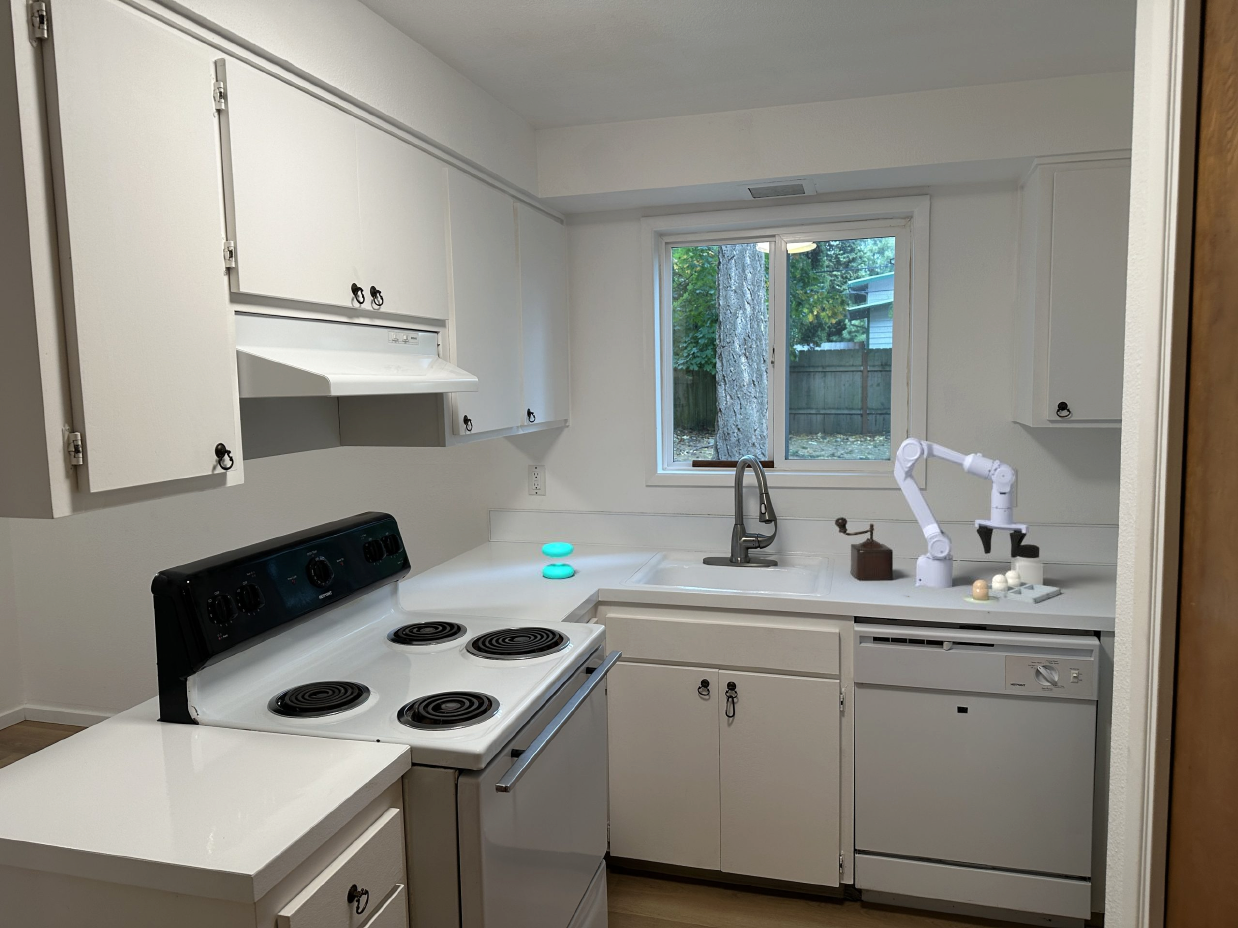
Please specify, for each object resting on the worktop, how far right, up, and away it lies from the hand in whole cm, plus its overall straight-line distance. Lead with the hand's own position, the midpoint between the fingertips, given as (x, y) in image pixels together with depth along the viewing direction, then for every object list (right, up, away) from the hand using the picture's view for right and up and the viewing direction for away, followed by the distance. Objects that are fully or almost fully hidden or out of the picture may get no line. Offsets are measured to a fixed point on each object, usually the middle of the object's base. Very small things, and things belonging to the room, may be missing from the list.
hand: (1000, 555), depth 244 cm
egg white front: (-2, -10, -4) cm, 11 cm away
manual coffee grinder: (-33, -9, +22) cm, 40 cm away
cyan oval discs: (-126, -10, +30) cm, 130 cm away
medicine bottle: (+11, -10, +7) cm, 16 cm away
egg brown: (-10, -11, -10) cm, 17 cm away
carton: (+3, -11, -4) cm, 12 cm away
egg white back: (+4, -10, +1) cm, 10 cm away
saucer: (-10, -12, -10) cm, 18 cm away
